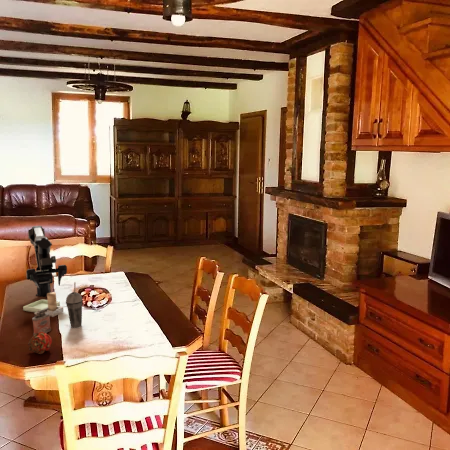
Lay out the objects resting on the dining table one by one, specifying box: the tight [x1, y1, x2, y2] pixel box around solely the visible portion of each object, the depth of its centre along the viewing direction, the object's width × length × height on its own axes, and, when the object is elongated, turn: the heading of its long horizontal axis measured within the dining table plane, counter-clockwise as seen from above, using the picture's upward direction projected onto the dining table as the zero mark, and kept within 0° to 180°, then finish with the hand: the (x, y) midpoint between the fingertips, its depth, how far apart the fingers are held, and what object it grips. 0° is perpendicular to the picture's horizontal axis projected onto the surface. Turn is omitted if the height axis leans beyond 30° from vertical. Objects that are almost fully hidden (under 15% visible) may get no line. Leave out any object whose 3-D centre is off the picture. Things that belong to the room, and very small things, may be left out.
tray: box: [22, 298, 61, 313], centre depth 241 cm, size 12×12×2 cm
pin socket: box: [45, 306, 65, 318], centre depth 233 cm, size 7×7×2 cm
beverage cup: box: [65, 281, 84, 329], centre depth 214 cm, size 7×7×20 cm
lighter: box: [31, 309, 52, 336], centre depth 209 cm, size 8×3×10 cm, turn 148°
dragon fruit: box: [27, 332, 53, 355], centre depth 190 cm, size 8×8×12 cm
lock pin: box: [46, 291, 58, 311], centre depth 232 cm, size 4×4×10 cm
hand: (49, 286), depth 236 cm, fingers open, 9 cm apart
